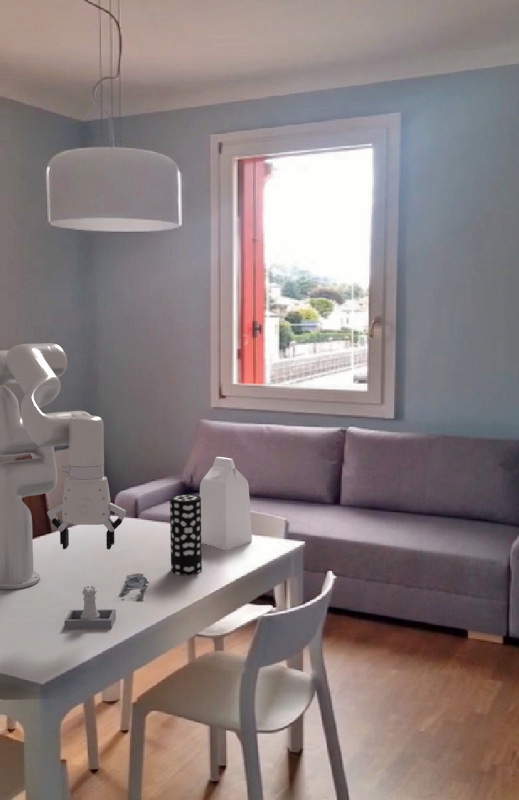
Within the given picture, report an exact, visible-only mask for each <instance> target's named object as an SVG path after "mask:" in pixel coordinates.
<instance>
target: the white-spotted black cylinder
mask: <svg viewBox="0 0 519 800" xmlns="http://www.w3.org/2000/svg"><path fill="white" fill-rule="evenodd" d="M169 521H170V522H169V523H170V525H169V527H170V530H169V531H170V532H169V533H170V572H171V573H172V574H174V575H179V576H191V575H192V574H193V575H197V574H199V573H201V572H202V570H203V566H202V565H203V560H202V559H203V557H202V556H203V555H202V550H203V549H202V545H203V544H201V497H200V495H196V494H177V495H173V496H170V497H169Z"/></svg>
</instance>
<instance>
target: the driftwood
mask: <svg viewBox="0 0 519 800" xmlns="http://www.w3.org/2000/svg"><path fill="white" fill-rule="evenodd" d="M143 575H144V573H132V574H127V577H126V581H124V584H123V586H122V588H121V589H120V593H119V595H117V598H121V601H122V602H123V601H125V598H124V597H125V596H126V595H127V594H128V595H129V594H130V592H131V591H134V590H135V591H136V590H139V592H140V593H138V594H136V595H135V597H134V598H133V597H131V598H128V599H131V600H133V599H134V600H135V601H140V600H144V597H145V593H146V591H147V588H148V587H149V584H150V581H149V582H148V581H147V579H148V578H146V576H143ZM146 584H148V585H146Z"/></svg>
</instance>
